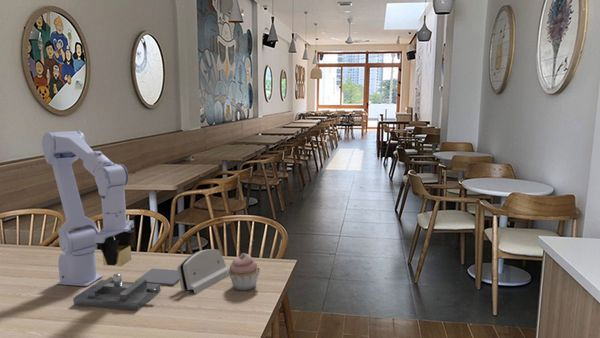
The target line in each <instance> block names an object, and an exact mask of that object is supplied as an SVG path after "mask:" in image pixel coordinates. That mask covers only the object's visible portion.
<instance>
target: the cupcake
mask: <svg viewBox="0 0 600 338" xmlns="http://www.w3.org/2000/svg"><path fill="white" fill-rule="evenodd" d="M228 270H229V271H228V272H227V273H228V274H229V276H228V277H230V280H231V284H232V287H233V288H234V290H238V291H249V290H252V289H255V287H256V285H257V281H258V276H259V274H260V272H261V271H260V270H261V268H260V267H258V263H257V261H256V260H255V259H253V258H252V256H251V255H250V254H248V253H244V252H242V253H241V254H240V255H239V256H237V257H234V259H233V261H232V262H231V264H230V265H229V269H228Z"/></svg>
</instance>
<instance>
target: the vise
mask: <svg viewBox="0 0 600 338" xmlns="http://www.w3.org/2000/svg"><path fill="white" fill-rule="evenodd" d="M122 280H123V279H122V273H118V272H117V273H114V274H113V275H112V276H109V277H107V279H100V280H99V281H97V282H96V283H93V284H92V285H91V286H90V287H88V288H87V289H85V290H83V291H82V292H80V293H79V294H78V295H76V296H74V297H73V306H80V307H90V308H91V307H92V308H102V309H103V308H105V309H115V310H124V311H126V310H127V311H135V312H136V311H140V309H142V308H143V307H144V306H145V305H146V304H147V303H148V302H150V301H151V300H152V299H153V298H154V297H155V296H157V295H158V294H159V293H160V292H161V290H162V289H161V285H160V284H151V283H147V280H145V279H139V280H138V281H137V282H135V281H124V280H123V281H122Z"/></svg>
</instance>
